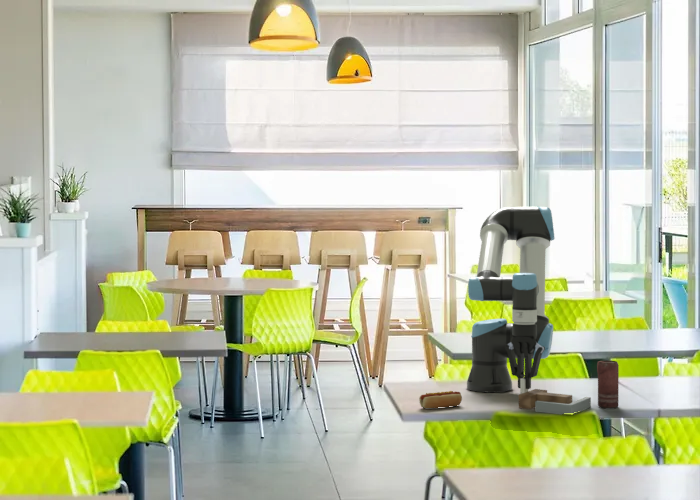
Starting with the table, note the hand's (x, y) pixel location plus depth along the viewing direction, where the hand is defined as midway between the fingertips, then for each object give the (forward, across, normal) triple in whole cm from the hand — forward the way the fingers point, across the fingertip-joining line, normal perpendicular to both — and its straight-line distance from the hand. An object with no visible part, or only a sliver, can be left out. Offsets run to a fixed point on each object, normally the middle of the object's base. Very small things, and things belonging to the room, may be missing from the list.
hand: (524, 399), depth 330 cm
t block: (+2, +8, 0) cm, 8 cm away
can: (+2, +23, +10) cm, 25 cm away
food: (+2, -20, -17) cm, 26 cm away
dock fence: (+2, +13, -1) cm, 13 cm away
